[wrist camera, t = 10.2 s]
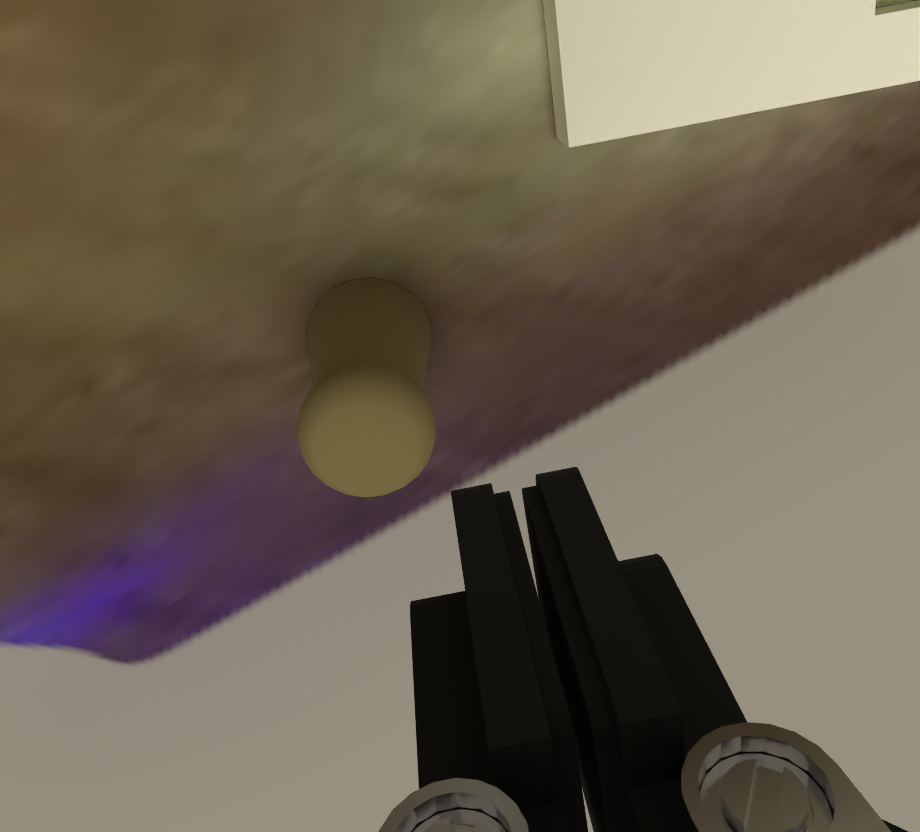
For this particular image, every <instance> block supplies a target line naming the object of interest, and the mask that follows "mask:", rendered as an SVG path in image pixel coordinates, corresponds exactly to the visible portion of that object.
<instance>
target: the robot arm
mask: <svg viewBox="0 0 920 832" xmlns="http://www.w3.org/2000/svg"><path fill="white" fill-rule="evenodd" d="M522 494H523V501H524V508H525V514H526V521H527V527H528V533H529V539H530V546H531V553H532V559H533V565H534V571H535V578H536V584H537V591H538V596H537V592H536V588H535V584H534V581H533V577H532V573H531V569H530V566H529V562H528V558H527V554H526V551H525V547H524V544H523V539H522V536H521V532H520V528H519V525H518V521H517V517H516V513H515V510H514V506H513V502H512V499H511V495H510V492H509V491H506V492H501V493H496V494H494V493H493V489H492V484H490V483H489V484H484V485H479V486H474V487H469V488H463V489H458V490H453V491H451V496H452V503H453V510H454V516H455V522H456V530H457V536H458V543H459V550H460V557H461V564H462V570H463V577H464V584H465V591H462V592H457V593H452V594H447V595H442V596H437V597H431V598H426V599H421V600H416V601H411V604H410V620H411V637H412V638H411V640H412V660H413V679H414V697H415V698H414V699H415V719H416V738H417V757H418V778H419V790H417V791H415V792H413V793H411V794H410V795H409V796H408V797H407V798H405V799H404V800H403V801H402V802H401V803H400V804H399V805H398V806H397V807H395V808H394V809H393V810H392V812H391V813H390V815H389V816H388V818H387V820H386V821H385V822H384V824H383V826H382V827H381V829H380V830H379V832H588V827H587V820H586V813H585V806H584V799H583V793H582V789H583V792H584V796H585V800H586V804H587V808H588V812H589V815H590V819H591V823H592V827H593V830H594V832H908V831H906V830H903V829H901V828H899V827H897V826H895V825H893V824H891V823H889V822H887V821H884V820H882V819H881V818H880V817H879V816H878V814H877V813H876V812H875V811H874V809H873V808H872V807H871V806H870V804H869V803H868V802H867V801H866V799H865V798H864V797H863V796H862V794H861V793H860V792H859V791H858V789H857V788H856V787H855V786H854V784H853V783H852V782H851V781H850V779H849V778H848V777H847V776H846V774H845V773H844V772H843V771H842V769H841V768H840V767H839V766H838V765H837V764H836V762H835V761H834V760H833V759H831V758H830V757H829V756H828V755H827V754H826V753H825V752H824V751H823V750H822V749H821V748H820V747H819V746H818V745H816V744H815V743H813V742H811V741H809V740H808V739H806V738H804V737H803V736H801V735H799V734H797V733H796V732H794V731H790V730H787V729H784V728H781V727H777V726H775V725H771V724H763V723H749V722H747V721H746V719H745V717H744V715H743V713H742V711H741V709H740V707H739V705H738V703H737V701H736V699H735V697H734V696H733V694H732V692H731V690H730V688H729V686H728V684H727V682H726V680H725V678H724V676H723V674H722V672H721V670H720V668H719V666H718V664H717V662H716V660H715V658H714V656H713V655H712V653H711V651H710V649H709V647H708V645H707V643H706V641H705V639H704V637H703V635H702V633H701V631H700V629H699V627H698V625H697V623H696V621H695V619H694V617H693V616H692V614H691V612H690V610H689V608H688V606H687V604H686V602H685V600H684V598H683V596H682V594H681V592H680V590H679V588H678V587H677V585H676V582H675V580H674V578H673V577H672V575H671V573H670V571H669V569H668V567H667V565H666V563H665V562H664V560H663V559H662V557H661V556H659V555H658V554H654V555H649V556H644V557H638V558H634V559H628V560H623V561H618V560H617V558H616V555H615V553H614V551H613V549H612V546H611V544H610V541H609V539H608V537H607V535H606V532H605V530H604V527H603V525H602V523H601V520H600V518H599V516H598V514H597V511H596V509H595V506H594V504H593V502H592V499H591V497H590V495H589V492H588V490H587V488H586V485H585V483H584V481H583V479H582V476H581V474H580V471H579V470H578V468H577V467H572V468H567V469H562V470H557V471H552V472H547V473H541V474H537V475H536V486H532V487H527V488H522ZM538 598H539V599H538Z"/></svg>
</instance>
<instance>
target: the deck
mask: <svg viewBox="0 0 920 832" xmlns="http://www.w3.org/2000/svg"><path fill="white" fill-rule="evenodd" d="M875 7H876V0H543V9H544V19H545V29H546V38H547V48H548V58H549V68H550V77H551V87H552V97H553V106H554V116H555V126H556V135H557V139H558V140H559V141H561V142H562V143H563V144H565V145H566V146H567V147H569V148H571V147H576V146H581V145H586V144H591V143H597V142H602V141H607V140H612V139H617V138H623V137H628V136H633V135H638V134H644V133H649V132H654V131H659V130H664V129H670V128H675V127H680V126H685V125H690V124H696V123H701V122H706V121H711V120H717V119H722V118H727V117H732V116H737V115H743V114H748V113H753V112H758V111H763V110H769V109H774V108H779V107H784V106H790V105H795V104H800V103H805V102H810V101H816V100H821V99H826V98H831V97H836V96H842V95H847V94H852V93H857V92H863V91H868V90H873V89H878V88H883V87H889V86H894V85H899V84H904V83H909V82H915V81H920V0H917V1H912V2H907V3H902V4H897V5H891V6H886V7H881V8H876V9H875Z"/></svg>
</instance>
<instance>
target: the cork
mask: <svg viewBox="0 0 920 832" xmlns="http://www.w3.org/2000/svg"><path fill="white" fill-rule="evenodd" d="M306 337H307V344H308V352H309V360H310V368H311V376H312V384H313V387H312V388H311V390H310V391H309V393H308V395H307V397H306V398H305V400H304V402H303V404H302V405H301V409H300V414H299V420H298V427H297V436H298V441H299V446H300V450H301V454H302V457H303V459H304V460H305V462H306V463H307V465H308V467H309V468H310V470H311V472H312V473H313V474H314V475H315V476H316V477H318V478H319V479H320V480H321V481H322V482H324V483H325V484H326V485H327V486H329V487H331V488H333V489H336V490H338V491H340V492H342V493H345V494H347V495H353V496H360V497H373V496H381V495H386V494H388V493H390V492H393V491H395V490H398V489H400V488H403V487H404V486H406V485H407V484H408V483H410V482H411V481H412V480H413V479H415V478H416V477H417V476H418V475H419V474H420V473H421V471H422V470H423V468H424V467H425V465H426V464H427V462H428V461H429V459H430V456H431V454H432V450H433V446H434V442H435V438H436V427H435V418H434V412H433V408H432V406H431V404H430V402H429V400H428V398H427V396H426V394H425V392H424V390H423V388H424V383H425V378H426V372H427V367H428V361H429V356H430V350H431V345H432V332H431V323H430V320H429V318H428V316H427V314H426V312H425V309H424V307H423V305H422V304H421V303H420V302H419V301H418V300H417V299H416V298H415V297H414V296H413V295H412V294H411V293H410V291H408V290H406V289H404V288H403V287H401V286H399V285H397V284H395V283H393V282H392V281H387V280H382V279H376V278H362V279H353V280H349V281H347V282H345V283H342V284H340V285H338V286H336V287H333V288H332V289H331V290H330V291H329V292H328V293H326V294H325V295H324V296H323V297H322V298H321V299H320V300H319V301H318V302H317V304H316V306H315V308H314V310H313V311H312V313H311V315H310V317H309V322H308V329H307V335H306Z"/></svg>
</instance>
